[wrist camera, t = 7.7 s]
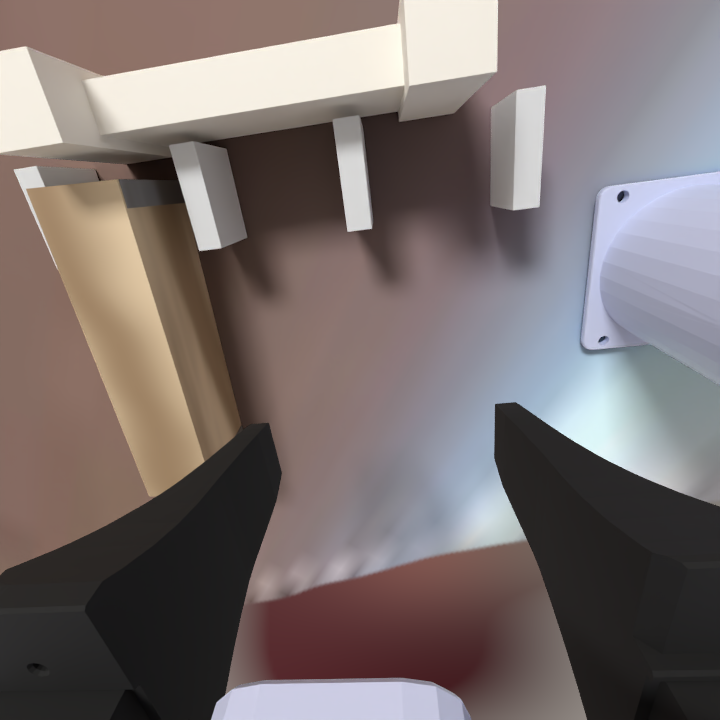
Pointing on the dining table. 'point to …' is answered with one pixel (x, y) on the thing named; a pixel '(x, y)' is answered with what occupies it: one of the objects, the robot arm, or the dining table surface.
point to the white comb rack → (271, 109)
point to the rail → (144, 318)
